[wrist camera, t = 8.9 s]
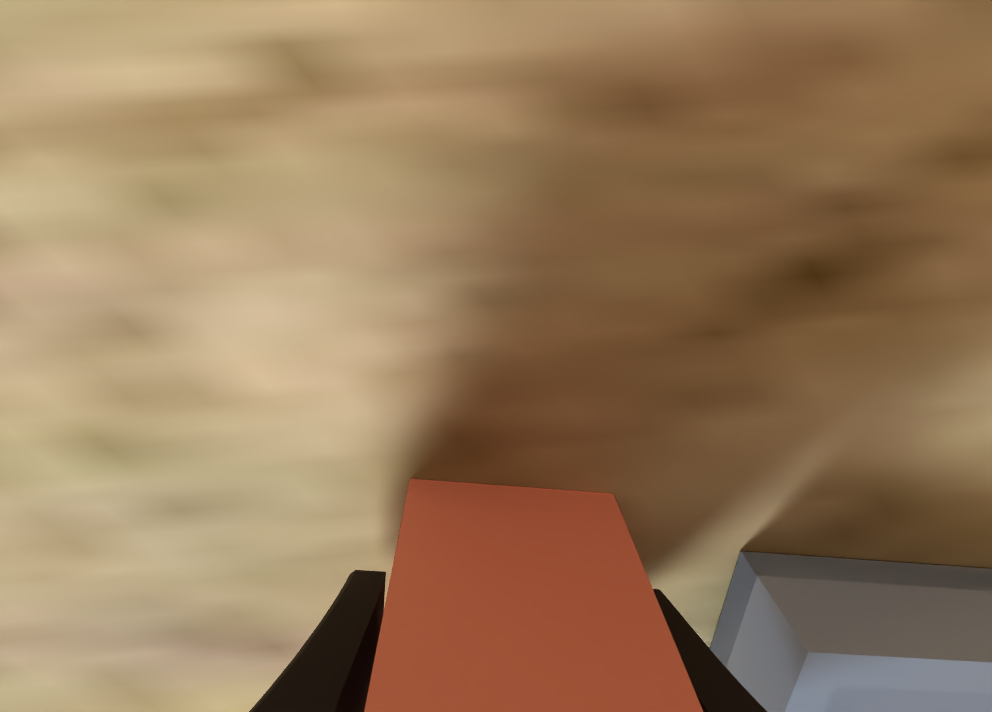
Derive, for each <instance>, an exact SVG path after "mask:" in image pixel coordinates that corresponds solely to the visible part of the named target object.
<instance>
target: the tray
mask: <svg viewBox="0 0 992 712" xmlns="http://www.w3.org/2000/svg"><path fill="white" fill-rule="evenodd" d="M710 650H711V651H712V652H713V653H714V654H715V656H716V657H717V658H718V659H719V660H720V661H721V662H722V663H723V665H724V666H725V667H726V668H727V669H728V670H729V671H730V672H731V674H732V675H733V676H734V677H735V678H736V679H737V680H738V681H739V682H740V683H741V685H742V686H743V687H744V688H745V689H746V690H747V691H748V692H749V693H750V694H751V695H752V696H753V697H754V698H755V699H756V700H757V702H758V703H759V704H760V705H761V706H762V707H763V708H764V709H765V710H766V711H767V712H992V569H988V568H974V567H960V566H945V565H931V564H917V563H902V562H888V561H874V560H860V559H845V558H831V557H817V556H802V555H788V554H774V553H760V552H745V551H740V555H739V558H738V561H737V564H736V567H735V570H734V574H733V577H732V580H731V583H730V586H729V589H728V593H727V596H726V599H725V602H724V605H723V608H722V612H721V615H720V618H719V621H718V624H717V627H716V631H715V634H714V637H713V640H712V643H711V646H710Z"/></svg>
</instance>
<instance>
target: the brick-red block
mask: <svg viewBox="0 0 992 712" xmlns="http://www.w3.org/2000/svg"><path fill="white" fill-rule="evenodd" d="M364 712H703V710H702V707H701V705H700V703H699V700H698V698H697V695H696V693H695V690H694V688H693V686H692V683H691V681H690V678H689V676H688V673H687V671H686V669H685V666H684V664H683V661H682V659H681V656H680V654H679V652H678V649H677V647H676V644H675V642H674V640H673V637H672V635H671V632H670V630H669V627H668V625H667V623H666V620H665V618H664V615H663V613H662V610H661V608H660V606H659V603H658V601H657V598H656V596H655V593H654V591H653V589H652V586H651V584H650V581H649V579H648V577H647V574H646V572H645V569H644V567H643V564H642V562H641V560H640V557H639V555H638V552H637V550H636V547H635V545H634V543H633V540H632V538H631V535H630V533H629V530H628V528H627V526H626V523H625V521H624V518H623V516H622V514H621V511H620V509H619V506H618V504H617V501H616V499H615V497H614V494H613V493H600V492H586V491H573V490H559V489H545V488H532V487H518V486H504V485H490V484H477V483H463V482H449V481H436V480H422V479H410V481H409V486H408V491H407V496H406V501H405V506H404V511H403V516H402V522H401V527H400V532H399V537H398V542H397V547H396V552H395V557H394V562H393V567H392V573H391V578H390V583H389V588H388V593H387V598H386V603H385V608H384V613H383V618H382V623H381V629H380V634H379V639H378V644H377V649H376V654H375V659H374V664H373V669H372V674H371V680H370V685H369V690H368V695H367V700H366V705H365V710H364Z"/></svg>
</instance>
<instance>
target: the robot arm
mask: <svg viewBox="0 0 992 712" xmlns="http://www.w3.org/2000/svg"><path fill="white" fill-rule="evenodd" d="M385 576H386V572H379V571H363V570H355V571H354V572H352V573H351V574H350V575H349V577H348V579H347V581H346V583H345V584H344V586H343V588H342V589H341V591H340V593H339V594H338V596H337V598H336V599H335V601H334V602H333V604H332V606H331V607H330V609H329V610H328V612H327V613H326V614H325V616H324V617H323V619H322V620H321V622H320V623H319V625H318V626H317V627H316V629H315V630H314V632H313V633H312V634H311V636H310V637H309V638H308V640H307V641H306V643H305V644H304V645H303V647H302V648H301V649H300V651H299V652H298V653H297V655H296V656H295V657H294V659H293V660H292V661H291V662H290V664H289V665H288V666H287V667H286V669H285V670H284V671H283V672H282V673H281V675H280V676H279V677H278V678H277V680H276V681H275V682H274V683H273V684H272V686H271V687H270V688H269V689H268V691H267V692H266V693H265V694H264V695H263V697H262V698H261V699H260V700H259V701H258V702H257V703H256V705H255V706H254V707H253V708H252V709H251V710H250V711H249V712H364V710H365V705H366V700H367V695H368V690H369V685H370V680H371V674H372V669H373V664H374V659H375V654H376V649H377V644H378V639H379V634H380V629H381V623H382V618H383V612H384V594H385ZM653 591H654V593H655V596H656V598H657V601H658V603H659V606H660V608H661V610H662V613H663V615H664V618H665V620H666V623H667V625H668V627H669V630H670V632H671V635H672V637H673V640H674V642H675V644H676V647H677V649H678V652H679V654H680V656H681V659H682V661H683V664H684V666H685V669H686V671H687V673H688V676H689V678H690V681H691V683H692V686H693V688H694V690H695V693H696V695H697V698H698V700H699V703H700V705H701V707H702V710H703V712H767V711H766V710H765V709H764V708H763V707H762V706H761V705H760V704H759V703H758V702H757V700H756V699H755V698H754V697H753V696H752V695H751V694H750V693H749V692H748V691H747V690H746V689H745V688H744V687H743V686H742V685H741V683H740V682H739V681H738V680H737V679H736V678H735V677H734V676H733V675H732V674H731V672H730V671H729V670H728V669H727V668H726V667H725V666H724V665H723V663H722V662H721V661H720V660H719V659H718V658H717V657H716V656H715V654H714V653H713V652H712V651H711V650H710V649H709V647H708V646H707V645H706V644H705V643H704V642H703V640H702V639H701V638H700V637H699V636H698V635H697V633H696V632H695V631H694V630H693V629H692V627H691V626H690V625H689V624H688V623H687V622H686V620H685V619H684V618H683V617H682V616H681V614H680V613H679V612H678V611H677V610H676V608H675V607H674V606H673V605H672V604H671V602H670V601H669V600H668V599H667V598H666V596H665V595H664V594H663V593H662V592H661V591H660V590H659V589H653Z"/></svg>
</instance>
